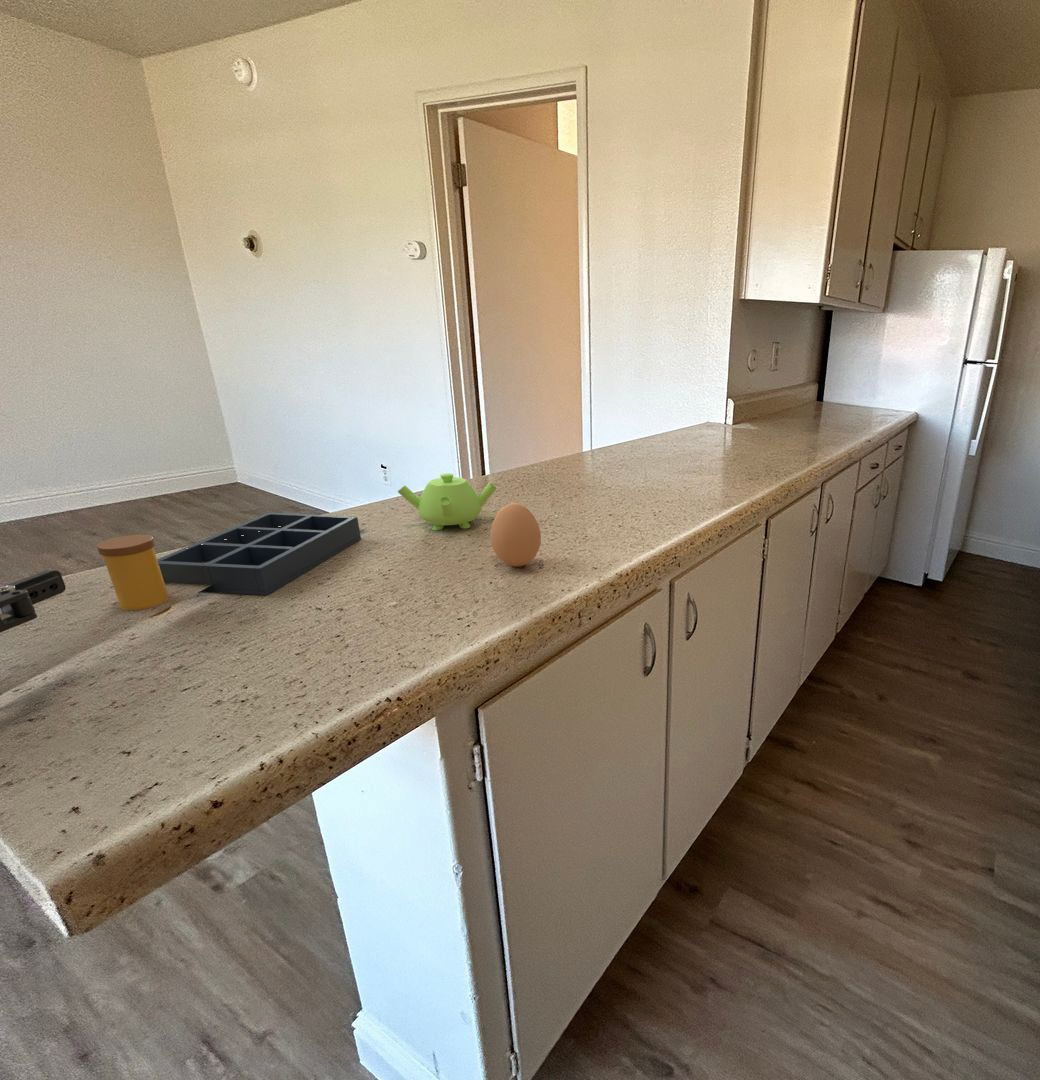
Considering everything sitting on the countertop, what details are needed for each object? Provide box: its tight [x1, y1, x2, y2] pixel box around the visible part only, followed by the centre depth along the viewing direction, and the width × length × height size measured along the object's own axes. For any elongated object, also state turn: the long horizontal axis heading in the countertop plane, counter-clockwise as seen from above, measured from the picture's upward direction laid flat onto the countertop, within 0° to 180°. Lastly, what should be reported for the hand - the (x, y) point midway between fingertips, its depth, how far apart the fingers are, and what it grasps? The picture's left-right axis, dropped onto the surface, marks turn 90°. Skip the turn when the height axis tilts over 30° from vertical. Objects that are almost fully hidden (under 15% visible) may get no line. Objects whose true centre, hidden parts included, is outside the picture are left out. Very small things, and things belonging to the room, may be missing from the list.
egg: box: [490, 502, 542, 568], centre depth 82 cm, size 7×7×9 cm
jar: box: [96, 534, 172, 618], centre depth 66 cm, size 4×4×8 cm
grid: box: [157, 512, 362, 596], centre depth 80 cm, size 13×20×4 cm
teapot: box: [397, 472, 498, 531], centre depth 97 cm, size 11×12×8 cm
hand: (12, 577), depth 54 cm, fingers open, 8 cm apart
